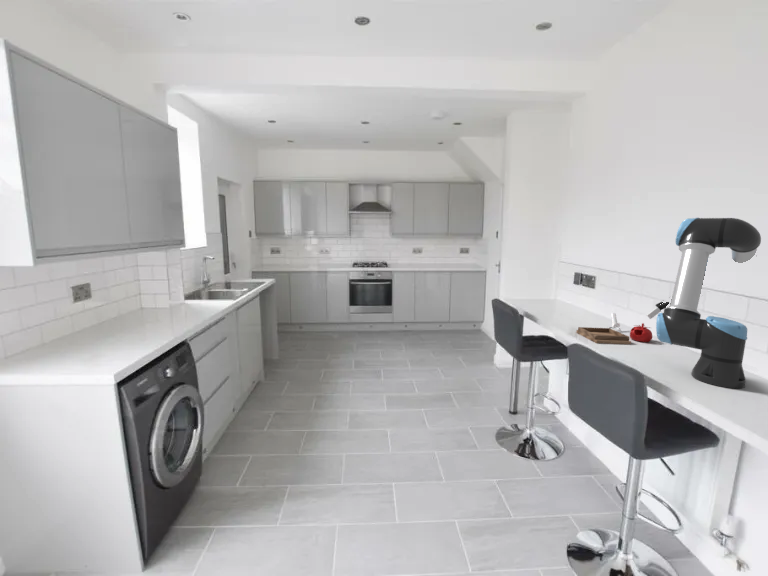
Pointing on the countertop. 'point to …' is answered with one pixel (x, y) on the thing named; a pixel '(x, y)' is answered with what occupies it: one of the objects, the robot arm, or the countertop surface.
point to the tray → (603, 335)
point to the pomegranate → (641, 333)
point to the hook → (615, 323)
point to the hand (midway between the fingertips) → (656, 320)
